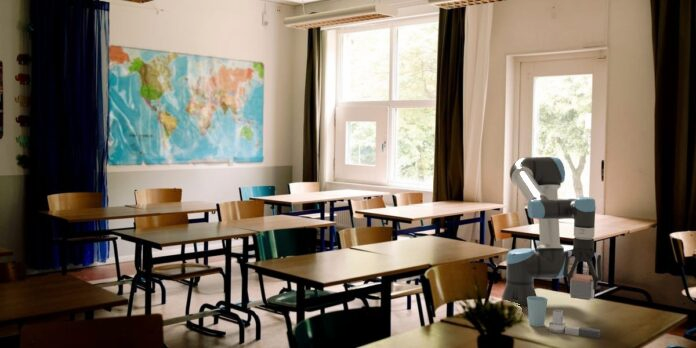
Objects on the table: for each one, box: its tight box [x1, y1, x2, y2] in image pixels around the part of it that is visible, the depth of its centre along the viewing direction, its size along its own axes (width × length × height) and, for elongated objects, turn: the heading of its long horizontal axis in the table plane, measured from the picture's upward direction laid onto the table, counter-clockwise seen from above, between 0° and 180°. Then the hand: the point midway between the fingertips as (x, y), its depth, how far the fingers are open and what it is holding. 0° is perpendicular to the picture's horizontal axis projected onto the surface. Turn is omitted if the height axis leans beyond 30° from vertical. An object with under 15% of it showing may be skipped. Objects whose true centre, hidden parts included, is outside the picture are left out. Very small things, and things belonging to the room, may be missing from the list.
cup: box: [527, 295, 548, 328], centre depth 265 cm, size 8×8×10 cm
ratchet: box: [548, 308, 601, 340], centre depth 253 cm, size 18×6×8 cm, turn 59°
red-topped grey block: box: [570, 273, 593, 301], centre depth 263 cm, size 7×7×8 cm
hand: (581, 296), depth 263 cm, fingers closed on red-topped grey block, 7 cm apart
